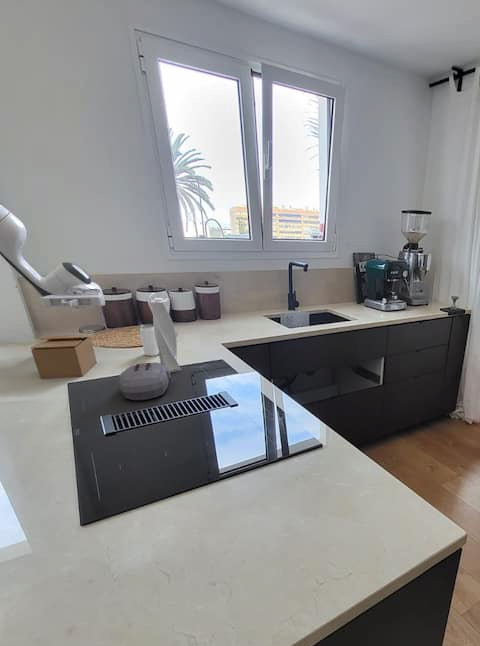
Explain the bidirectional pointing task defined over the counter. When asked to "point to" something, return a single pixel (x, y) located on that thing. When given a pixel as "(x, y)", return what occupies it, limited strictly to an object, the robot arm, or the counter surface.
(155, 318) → the skyscraper
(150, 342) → the can
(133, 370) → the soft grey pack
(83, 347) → the carton
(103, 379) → the counter surface
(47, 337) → the flap
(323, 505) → the counter surface
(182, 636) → the counter surface
